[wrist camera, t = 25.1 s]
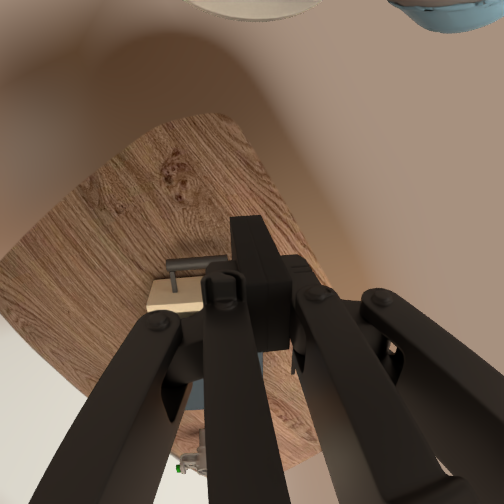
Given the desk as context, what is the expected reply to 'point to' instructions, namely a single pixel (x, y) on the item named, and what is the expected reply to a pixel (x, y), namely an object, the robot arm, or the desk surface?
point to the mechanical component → (195, 458)
